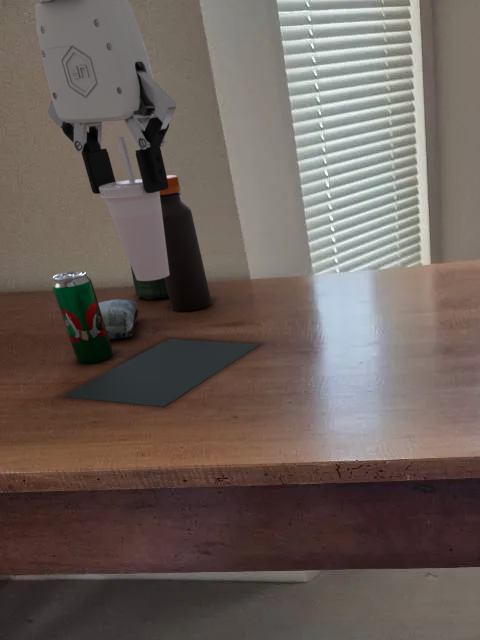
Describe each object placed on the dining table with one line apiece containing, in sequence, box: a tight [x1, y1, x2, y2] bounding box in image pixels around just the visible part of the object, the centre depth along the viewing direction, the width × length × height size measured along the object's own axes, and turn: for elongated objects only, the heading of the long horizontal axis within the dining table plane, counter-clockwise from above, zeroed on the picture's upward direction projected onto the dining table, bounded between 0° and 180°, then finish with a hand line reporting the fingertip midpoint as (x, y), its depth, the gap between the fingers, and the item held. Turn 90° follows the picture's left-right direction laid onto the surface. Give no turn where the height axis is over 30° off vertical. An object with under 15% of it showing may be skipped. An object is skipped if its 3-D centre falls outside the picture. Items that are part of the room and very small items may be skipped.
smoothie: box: [99, 136, 169, 281], centre depth 79 cm, size 6×6×14 cm
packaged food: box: [98, 298, 139, 341], centre depth 113 cm, size 9×12×5 cm
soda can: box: [51, 270, 115, 365], centre depth 101 cm, size 5×5×12 cm
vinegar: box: [159, 174, 212, 312], centre depth 119 cm, size 7×7×20 cm
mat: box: [62, 338, 260, 408], centre depth 98 cm, size 16×22×1 cm
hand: (130, 189), depth 78 cm, fingers closed on smoothie, 6 cm apart
